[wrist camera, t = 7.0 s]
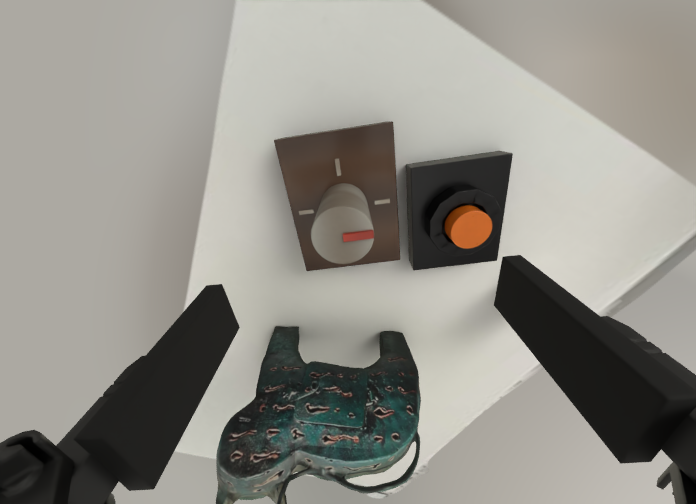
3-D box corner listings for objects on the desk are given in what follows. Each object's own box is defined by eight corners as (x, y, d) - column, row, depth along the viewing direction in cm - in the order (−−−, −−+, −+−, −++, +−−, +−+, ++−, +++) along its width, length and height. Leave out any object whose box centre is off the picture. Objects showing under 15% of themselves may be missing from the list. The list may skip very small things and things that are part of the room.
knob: (325, 231, 25) (316, 269, 19) (316, 186, 23) (304, 212, 17) (369, 225, 25) (377, 262, 18) (364, 179, 23) (371, 203, 16)
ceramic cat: (266, 348, 37) (188, 562, 19) (261, 313, 34) (165, 528, 16) (402, 354, 37) (452, 568, 19) (410, 320, 34) (477, 536, 16)
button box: (406, 164, 25) (415, 171, 21) (499, 150, 24) (525, 155, 21) (409, 260, 30) (417, 279, 26) (487, 251, 29) (506, 269, 26)
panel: (281, 138, 24) (273, 140, 21) (387, 121, 23) (393, 121, 21) (310, 257, 30) (306, 272, 27) (395, 247, 29) (400, 260, 26)
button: (444, 207, 23) (451, 213, 22) (485, 202, 23) (494, 208, 22) (443, 242, 25) (449, 250, 23) (481, 238, 25) (489, 246, 23)
